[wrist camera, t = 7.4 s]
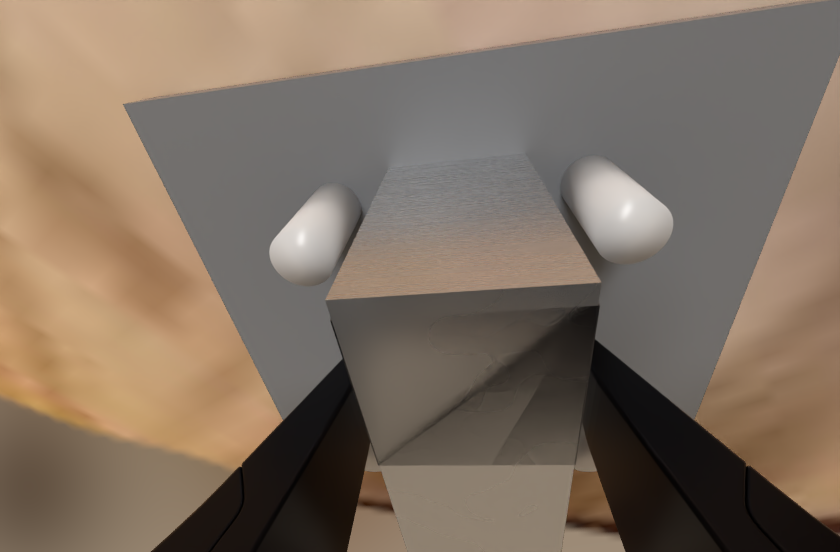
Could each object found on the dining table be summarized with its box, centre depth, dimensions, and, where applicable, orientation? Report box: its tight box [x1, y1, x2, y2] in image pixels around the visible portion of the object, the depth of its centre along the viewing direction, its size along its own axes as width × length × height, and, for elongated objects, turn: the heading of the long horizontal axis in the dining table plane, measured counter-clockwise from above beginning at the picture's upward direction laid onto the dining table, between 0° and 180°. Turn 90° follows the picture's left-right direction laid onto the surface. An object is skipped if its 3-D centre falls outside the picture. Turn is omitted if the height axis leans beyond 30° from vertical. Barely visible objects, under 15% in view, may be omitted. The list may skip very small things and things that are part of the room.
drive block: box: [325, 153, 601, 552], centre depth 8 cm, size 3×8×5 cm, turn 8°
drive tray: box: [123, 0, 840, 472], centre depth 10 cm, size 14×12×4 cm
